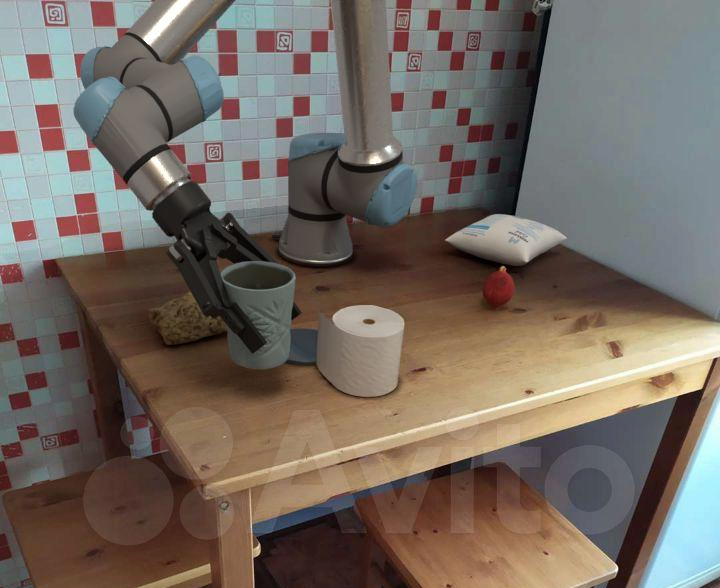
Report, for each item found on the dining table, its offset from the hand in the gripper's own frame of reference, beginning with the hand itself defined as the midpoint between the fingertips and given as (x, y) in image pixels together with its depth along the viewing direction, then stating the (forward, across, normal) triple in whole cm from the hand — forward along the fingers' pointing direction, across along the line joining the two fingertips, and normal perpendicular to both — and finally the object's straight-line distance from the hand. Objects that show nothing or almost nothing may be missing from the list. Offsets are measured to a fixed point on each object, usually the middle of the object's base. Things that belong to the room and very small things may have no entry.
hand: (278, 332), depth 105 cm
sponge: (-7, -14, -21) cm, 26 cm away
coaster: (+5, -15, -9) cm, 19 cm away
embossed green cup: (+1, 0, -5) cm, 5 cm away
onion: (+22, -48, +7) cm, 53 cm away
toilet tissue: (+14, -10, -1) cm, 17 cm away
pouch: (+19, -75, +4) cm, 77 cm away
